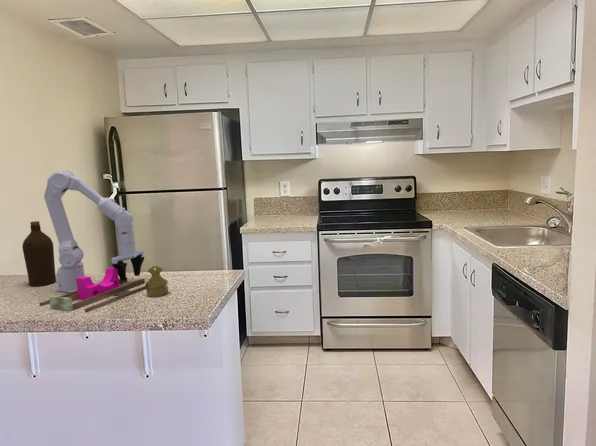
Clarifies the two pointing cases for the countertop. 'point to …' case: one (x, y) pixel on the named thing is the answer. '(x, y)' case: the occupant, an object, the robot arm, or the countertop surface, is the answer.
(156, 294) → the gold tapered round piece
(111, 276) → the magenta curved bracket
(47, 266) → the olive oil
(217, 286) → the countertop surface
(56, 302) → the wooden slat rack
